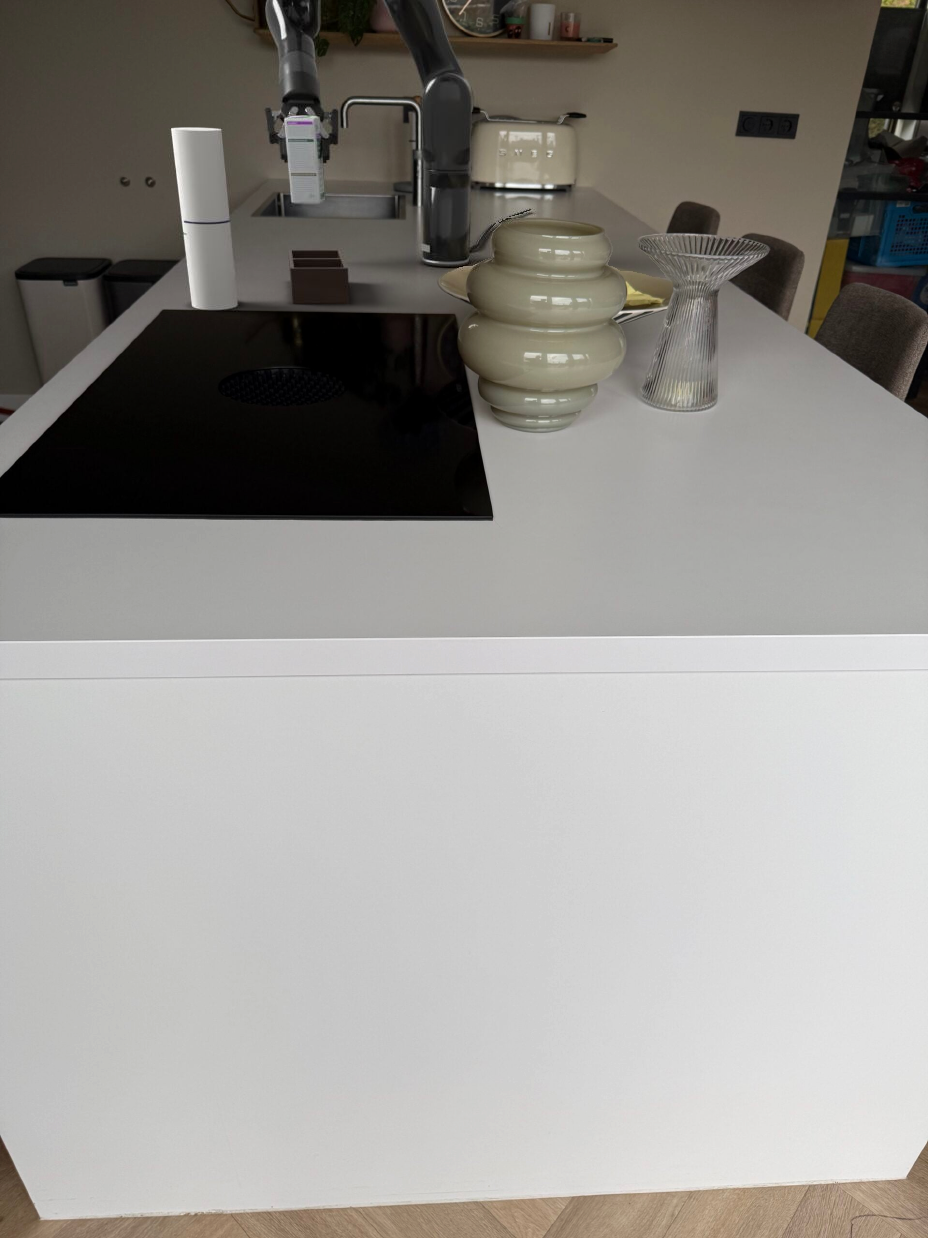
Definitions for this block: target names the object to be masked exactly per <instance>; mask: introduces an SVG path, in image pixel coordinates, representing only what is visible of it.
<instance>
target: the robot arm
mask: <svg viewBox="0 0 928 1238" xmlns="http://www.w3.org/2000/svg"><path fill="white" fill-rule="evenodd" d="M382 3H383V5H384V7H385V9H386V12H387V14H388V15H389V18H390V19H391V21H392V23H393V26H394V27H395V29H396V30H397V33H398V34H399V36H400V38H401V39H402V41H403V42H404V44H405V46H406V47H407V49H408V51H409V53H410V55H411V58H412V60H413V62H414V65H415V68H416V71H417V74H418V77H419V80H420V83H421V87H422V90H423V92H422V97H421V153H422V160H423V161H422V163H423V164H422V165H423V166H422V167H423V168H422V169H423V173H422V174H423V175H422V176H423V179H422V197H423V198H422V201H423V202H422V243H421V242H420V250H421V251H422V257H421V259H422V260H421V262H422V263H423V264H424V265H426V266H431V267H442V268H443V267H445V268H450V267H451V268H453V267H463V265H464V266H467V265H469V264H468V263H470V257H471V252H473V251H475V250H476V249H478V248H479V247H480V245H481V243H482V242H483V240H484V238H485V237H486V236H487V234H488V233H489V232H490V231H491V230H492V229H493V228H494V227H493V226H494V225H495V224H496V223H495V222H497V221H498V222H499V220H501V219H502V221H504V220H503V218H501V219H498V220H497V221H495V222H493V223H494V224H493V223H492V224H493V225H492V224H490V225H491V226H490V225H489V226H490V227H489V226H488V227H489V228H488V227H487V228H488V229H487V228H486V229H487V230H486V229H485V230H486V231H485V230H484V231H485V233H484V231H483V232H482V233H481V235H480V236H479V237H478V239H477V240H476V243H475V244H476V245H475V244H474V245H472V246H471V227H472V226H471V223H472V213H471V180H472V178H471V177H472V114H473V113H472V112H473V109H474V106H475V98H474V97H475V96H474V92H473V89H472V87H471V85H470V84H471V83H469V81H468V79H467V77H466V75H465V73H464V71H463V69H462V67H461V65H460V63H459V61H458V59H457V56H456V54H455V51H454V50H453V47H452V45H451V43H450V40H449V38H448V35H447V32H446V28H445V24H444V21H443V17H442V13H441V10H440V7H439V3H438V0H382ZM321 5H322V0H266V2H265V19H266V24H267V27H268V29H269V32H270V35H271V36H272V39H273V41H274V43H275V46H276V49H277V53H278V54H277V55H278V87H279V96H280V98H279V99H280V108H278V110H272V109H271V108H270V107H265V108H264V118H265V126H266V131H267V136H268V142H269V144H271V145H275V144H277V145H278V147H279V157H280V160H281V161H283V163H284V164H288V155H287V144H286V132H285V121H284V119H285V118H288V117H292V116H303V115H307V116H317V117H320V135H321V142H322V158H323V164H327V163H328V161H330V159H331V149H330V146H331V145H334V146H336V145H338V144H339V110H338V109H337V108H333V109H332V110H331V111H325V110H324V109H323V107H322V101H321V100H322V99H321V89H320V88H321V87H320V78H319V72H318V68H317V58H316V50H315V49H316V48H315V44H314V43H315V42H314V41H313V39H315V38H316V37H317V35H318V34H319V33H320V29H321V25H322V8H321ZM278 120H280V121H281V122H282V127H281V129H280V130H279V132H277V131H276V130H275V126H276V124H277V122H278ZM324 121H327V124H328V125H329V126H330V127H331V132H329V133H328V131H327V130H326V129H325V128H324V125H323V123H324ZM528 209H529V210H528ZM528 209H525V210H526V211H525V210H522V211H523V212H522V211H520V213H519V212H516V213H517V214H516V213H514V215H513V214H510V215H508V216H509V217H511V215H512V216H515V215H519V214H523V213H524V212H527V211H530V210H531V209H532V208H528ZM523 215H524V214H523ZM515 218H516V217H514V218H506V219H505V220H507V221H509V220H512V219H515ZM508 219H509V220H508ZM502 221H501V222H502ZM501 222H499V223H500V224H502V223H503V222H502V223H501ZM504 222H505V221H504ZM492 227H493V228H492ZM491 228H492V229H491ZM490 229H491V230H490ZM483 233H484V234H483ZM482 234H483V236H482ZM481 236H482V237H481ZM480 237H481V239H480ZM479 239H480V240H479ZM478 240H479V242H478ZM481 241H482V242H481ZM477 242H478V244H477ZM478 246H479V247H478ZM477 247H478V248H477ZM472 250H473V251H472ZM470 251H471V252H470ZM469 256H470V257H469ZM468 258H469V260H468ZM466 264H467V265H466Z"/></svg>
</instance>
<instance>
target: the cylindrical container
mask: <svg viewBox="0 0 928 1238" xmlns="http://www.w3.org/2000/svg"><path fill="white" fill-rule="evenodd" d="M170 131H171V138H172V148H173V156H174V164H175V165H174V166H175V172H176V182H177V191H178V198H179V199H178V200H179V207H180V215H181V225H182V232H183V242H184V251H185V258H186V267H187V275H188V283H189V291H190V300H191V306H192V308H195V309H197V310H198V309H199V310H202V311H203V310H204V311H205V310H206V311H222V310H229V309H233V308H236V307H238V305H239V304H238V295H237V293H238V292H237V283H236V282H237V281H236V273H235V272H236V271H235V261H234V260H235V259H234V250H233V239H232V238H233V237H232V230H231V229H232V228H231V221H230V218H231V217H230V209H229V207H230V206H229V198H228V197H229V195H228V186H227V176H226V164H225V154H224V143H223V134H222V129H221V128H216V127H215V128H214V127H172V128H171V129H170Z"/></svg>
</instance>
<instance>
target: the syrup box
mask: <svg viewBox="0 0 928 1238" xmlns="http://www.w3.org/2000/svg"><path fill="white" fill-rule="evenodd" d="M284 121H285V132H286V144H287V155H288V163H287V167H288V178H289V190H290V191H289V192H290V201H291V203H292V204H299V205H321V204H322V203H323V202H324V201H325V200H326V186H325V174H324V172H325V171H324V163H323V158H322V142H321V135H320V117H317V116H307V115H303V116H292V117H288V118H285V119H284Z"/></svg>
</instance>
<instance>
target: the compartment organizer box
mask: <svg viewBox="0 0 928 1238" xmlns="http://www.w3.org/2000/svg"><path fill="white" fill-rule="evenodd" d="M288 267H289V282H290V291H291V300H292V305H303V304H304V305H305V304H306V305H307V304H308V305H309V304H311V305H312V304H313V305H314V304H315V305H316V304H350V289H349V288H350V286H349V268H348V266H347V263H346V261H345V257H344V255H343V252H342V250H341V249H288Z"/></svg>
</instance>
